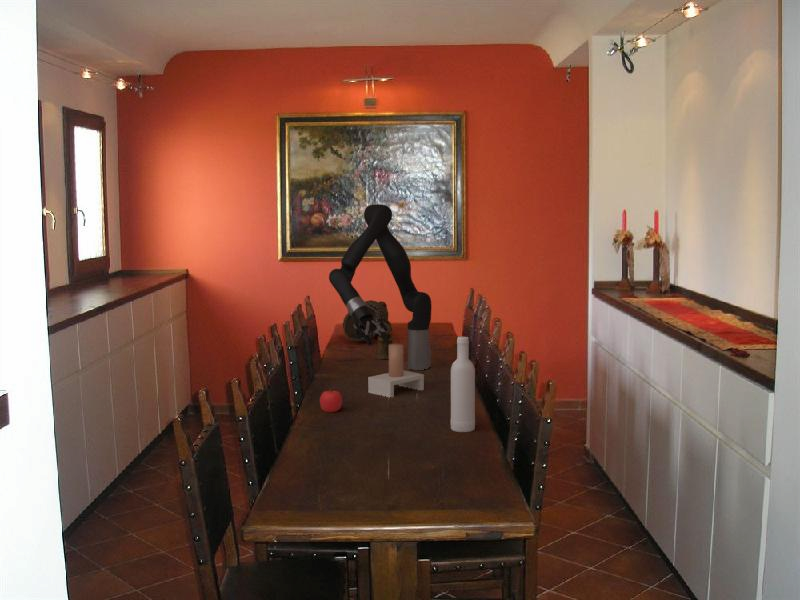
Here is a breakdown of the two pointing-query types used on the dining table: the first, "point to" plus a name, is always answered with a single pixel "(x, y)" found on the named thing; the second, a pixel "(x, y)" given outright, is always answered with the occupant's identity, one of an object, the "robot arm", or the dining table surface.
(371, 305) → the basket
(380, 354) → the brown carved figurine
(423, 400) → the dining table surface
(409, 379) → the white channel block
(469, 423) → the bottle
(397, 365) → the tan rounded-top cylinder
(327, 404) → the apple
